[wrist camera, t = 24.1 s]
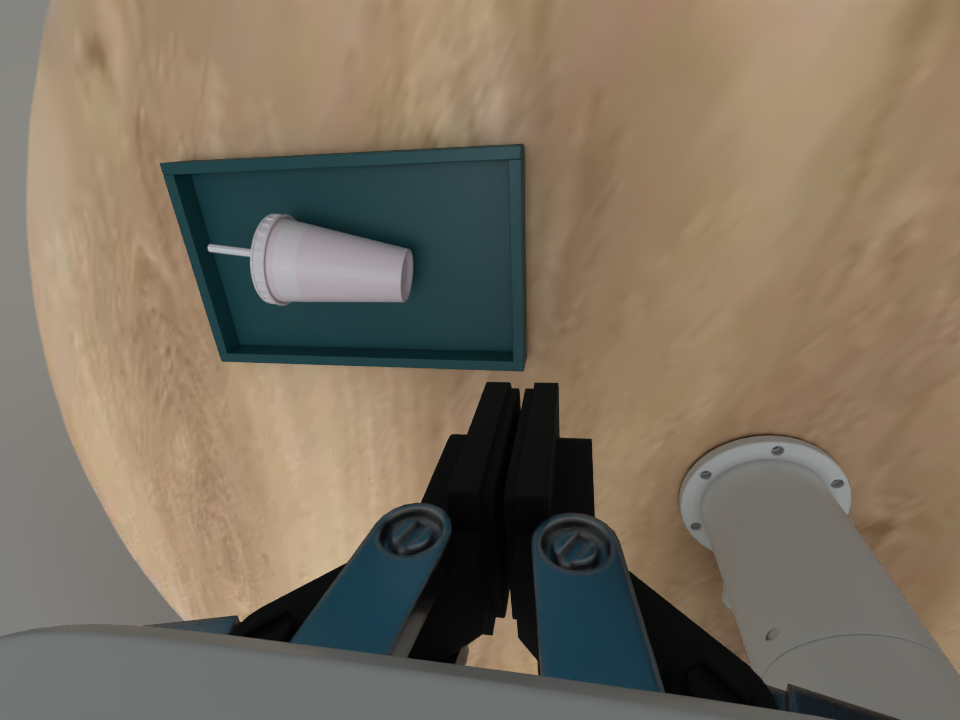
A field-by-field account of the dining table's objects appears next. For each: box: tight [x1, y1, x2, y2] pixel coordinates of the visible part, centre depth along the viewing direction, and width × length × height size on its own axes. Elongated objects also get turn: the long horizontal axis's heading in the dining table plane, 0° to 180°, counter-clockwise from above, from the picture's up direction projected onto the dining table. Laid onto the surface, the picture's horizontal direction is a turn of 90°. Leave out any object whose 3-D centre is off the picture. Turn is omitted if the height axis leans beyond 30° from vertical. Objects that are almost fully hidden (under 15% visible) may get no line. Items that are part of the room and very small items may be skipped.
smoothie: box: [208, 214, 413, 306], centre depth 34 cm, size 6×6×14 cm
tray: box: [160, 144, 527, 371], centre depth 36 cm, size 16×26×2 cm, turn 93°
